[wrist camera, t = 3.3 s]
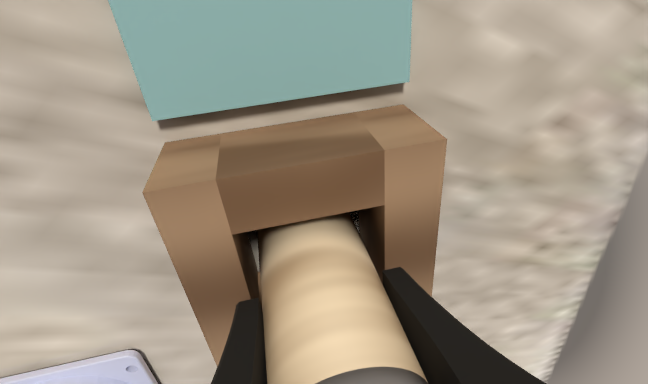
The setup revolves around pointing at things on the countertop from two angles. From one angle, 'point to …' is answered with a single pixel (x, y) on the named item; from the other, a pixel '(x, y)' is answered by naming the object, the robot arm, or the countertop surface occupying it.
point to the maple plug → (328, 309)
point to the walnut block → (295, 199)
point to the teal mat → (260, 50)
